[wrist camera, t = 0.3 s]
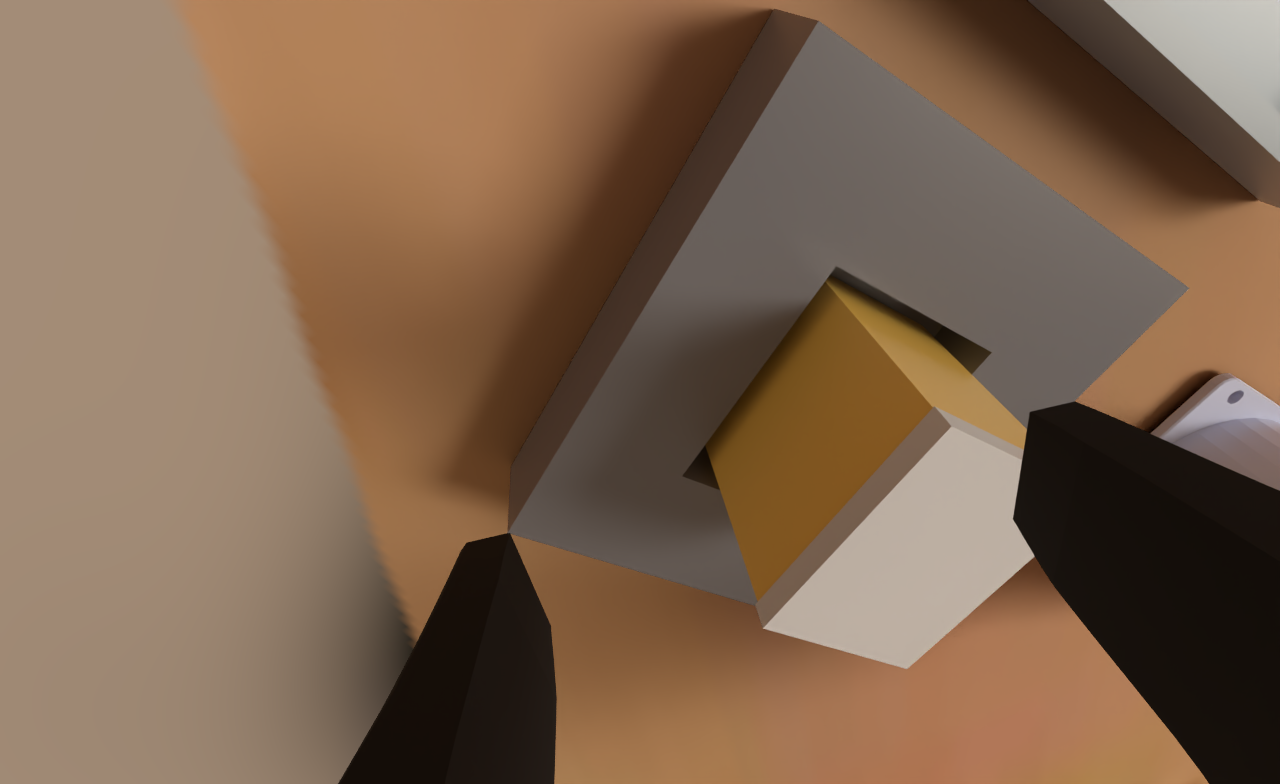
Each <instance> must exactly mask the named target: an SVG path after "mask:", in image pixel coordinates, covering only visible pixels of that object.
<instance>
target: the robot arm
mask: <svg viewBox="0 0 1280 784" xmlns="http://www.w3.org/2000/svg"><path fill="white" fill-rule="evenodd" d="M1013 520H1014V522H1015V524H1016V525H1017V527H1018V529H1019V531H1020V532H1021V534H1022V536H1023V537H1024V539H1025V541H1026V542H1027V544H1028V546H1029V547H1030V549H1031V551H1032V553H1033V554H1034V556H1035V557H1036V559H1037V561H1038V562H1039V564H1040V565H1041V567H1042V568H1043V570H1044V572H1045V573H1046V575H1047V576H1048V578H1049V579H1050V581H1051V583H1052V584H1053V585H1054V587H1055V588H1056V589H1057V591H1058V592H1059V593H1060V594H1061V596H1062V597H1063V598H1064V600H1065V601H1066V602H1067V603H1068V605H1069V606H1070V607H1071V608H1072V610H1073V611H1074V612H1075V614H1076V615H1077V616H1078V617H1079V619H1080V620H1081V621H1082V622H1083V624H1084V625H1085V626H1086V627H1087V629H1088V630H1089V631H1090V632H1091V634H1092V635H1093V636H1094V637H1095V639H1096V640H1097V641H1098V642H1099V644H1100V645H1101V646H1102V647H1103V649H1104V650H1105V651H1106V652H1107V654H1108V655H1109V656H1110V657H1111V658H1112V660H1113V661H1114V662H1115V663H1116V665H1117V666H1118V667H1119V668H1120V670H1121V671H1122V672H1123V673H1124V675H1125V676H1126V677H1127V678H1128V680H1129V681H1130V682H1131V683H1132V684H1133V686H1134V687H1135V688H1136V689H1137V691H1138V692H1139V693H1140V694H1141V696H1142V697H1143V698H1144V699H1145V701H1146V702H1147V703H1148V704H1149V706H1150V707H1151V708H1152V709H1153V710H1154V712H1155V713H1156V714H1157V715H1158V717H1159V718H1160V719H1161V720H1162V722H1163V723H1164V724H1165V725H1166V727H1167V728H1168V729H1169V730H1170V732H1171V733H1172V734H1173V735H1174V737H1175V738H1176V739H1177V741H1178V742H1179V743H1180V745H1181V746H1182V747H1183V749H1184V750H1185V751H1186V753H1187V754H1188V755H1189V757H1190V758H1191V759H1192V761H1193V762H1194V763H1195V765H1196V766H1197V767H1198V769H1199V770H1200V771H1201V773H1202V774H1203V775H1204V777H1205V778H1206V780H1207V781H1208V783H1209V784H1280V406H1279V405H1277V404H1276V403H1274V402H1273V401H1271V400H1270V399H1268V398H1267V397H1265V396H1264V395H1262V394H1261V393H1259V392H1258V391H1256V390H1255V389H1253V388H1252V387H1250V386H1249V385H1247V384H1246V383H1244V382H1243V381H1241V380H1240V379H1238V378H1237V377H1235V376H1233V375H1232V374H1229V373H1224V374H1219V375H1217V376H1215V377H1213V378H1212V379H1210V380H1209V381H1208V382H1207V383H1206V384H1205V385H1204V386H1202V387H1201V388H1200V389H1199V390H1198V391H1197V392H1196V393H1195V394H1194V395H1192V396H1191V397H1190V398H1189V399H1188V400H1187V401H1186V402H1185V403H1184V404H1182V405H1181V406H1180V407H1179V408H1178V409H1177V410H1176V411H1175V412H1174V413H1172V414H1171V415H1170V416H1169V417H1168V418H1167V419H1166V420H1165V421H1164V422H1162V423H1161V424H1160V425H1159V426H1158V427H1157V428H1156V429H1155V430H1154V431H1152V432H1151V433H1148V432H1146V431H1143V430H1141V429H1139V428H1136V427H1134V426H1132V425H1130V424H1127V423H1125V422H1123V421H1121V420H1118V419H1116V418H1114V417H1111V416H1109V415H1107V414H1104V413H1102V412H1100V411H1097V410H1095V409H1092V408H1090V407H1087V406H1085V405H1082V404H1080V403H1077V402H1070V403H1065V404H1061V405H1057V406H1053V407H1048V408H1044V409H1040V410H1035V411H1031V412H1030V413H1029V420H1028V426H1027V432H1026V439H1025V445H1024V451H1023V458H1022V464H1021V470H1020V477H1019V483H1018V489H1017V496H1016V502H1015V508H1014V515H1013ZM556 700H557V697H556V684H555V670H554V657H553V646H552V635H551V625H550V623H549V621H548V618H547V616H546V614H545V612H544V609H543V607H542V605H541V603H540V600H539V598H538V596H537V593H536V591H535V589H534V587H533V584H532V582H531V580H530V578H529V575H528V573H527V571H526V568H525V566H524V564H523V562H522V559H521V557H520V555H519V553H518V550H517V548H516V546H515V543H514V541H513V539H512V537H511V534H510V533H507V534H502V535H498V536H494V537H489V538H485V539H481V540H477V541H472V542H468V543H466V544H465V546H464V547H463V549H462V550H461V552H460V554H459V556H458V558H457V561H456V563H455V565H454V567H453V569H452V571H451V573H450V575H449V578H448V580H447V582H446V584H445V586H444V588H443V590H442V592H441V594H440V596H439V599H438V601H437V603H436V605H435V607H434V609H433V611H432V613H431V615H430V617H429V619H428V621H427V623H426V625H425V627H424V629H423V631H422V633H421V635H420V637H419V639H418V641H417V643H416V645H415V647H414V649H413V651H412V653H411V655H410V657H409V658H408V660H407V662H406V664H405V666H404V668H403V670H402V672H401V674H400V676H399V678H398V679H397V681H396V683H395V685H394V687H393V689H392V691H391V693H390V695H389V696H388V698H387V700H386V702H385V704H384V706H383V708H382V710H381V711H380V713H379V714H378V716H377V718H376V720H375V721H374V723H373V725H372V727H371V729H370V730H369V732H368V733H367V735H366V737H365V739H364V740H363V742H362V744H361V746H360V747H359V749H358V751H357V753H356V754H355V756H354V758H353V759H352V761H351V763H350V765H349V766H348V768H347V770H346V771H345V773H344V775H343V777H342V778H341V780H340V782H339V783H338V784H554V774H555V740H556Z"/></svg>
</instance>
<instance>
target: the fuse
mask: <svg viewBox="0 0 1280 784" xmlns="http://www.w3.org/2000/svg"><path fill="white" fill-rule="evenodd" d="M1026 432H1027V429H1026V428H1025V427H1024V426H1023V425H1022V424H1021V423H1020V422H1019V421H1018V420H1017V419H1016V418H1015V417H1014V416H1013V415H1012V414H1011V413H1010V412H1009V411H1008V410H1007V409H1006V408H1005V407H1004V406H1003V405H1002V404H1001V403H1000V402H999V401H998V400H997V399H996V398H995V397H994V396H993V395H992V394H991V393H990V392H989V391H988V390H987V389H986V388H985V387H984V386H983V385H982V384H981V383H980V382H979V381H978V380H977V379H976V378H975V377H974V376H973V375H972V374H971V373H970V372H969V371H968V370H967V369H966V368H965V367H964V366H963V365H962V364H961V363H960V362H959V361H958V360H957V359H956V358H955V357H953V356H952V355H951V354H950V353H949V352H948V351H947V350H946V349H945V348H944V347H943V346H942V345H941V344H940V343H939V342H938V341H937V340H936V339H935V338H934V337H933V336H932V335H931V334H930V333H929V332H928V331H927V330H926V329H925V328H924V327H923V326H922V325H921V324H919V323H917V322H915V321H913V320H911V319H910V318H908V317H906V316H904V315H902V314H900V313H899V312H897V311H895V310H893V309H891V308H889V307H888V306H886V305H884V304H882V303H880V302H878V301H877V300H875V299H873V298H871V297H869V296H867V295H866V294H864V293H862V292H860V291H858V290H856V289H855V288H853V287H851V286H849V285H847V284H845V283H844V282H842V281H840V280H838V279H836V278H834V277H833V276H831V275H829V277H828V278H827V279H826V281H825V282H824V284H823V285H822V286H821V288H820V289H819V290H818V292H817V293H816V294H815V296H814V297H813V299H812V300H811V301H810V303H809V304H808V305H807V307H806V308H805V309H804V311H803V312H802V314H801V315H800V316H799V318H798V319H797V320H796V322H795V323H794V324H793V326H792V327H791V329H790V330H789V331H788V333H787V334H786V335H785V337H784V338H783V339H782V341H781V342H780V344H779V345H778V346H777V348H776V349H775V350H774V352H773V353H772V354H771V356H770V357H769V359H768V360H767V361H766V363H765V364H764V365H763V367H762V368H761V369H760V371H759V372H758V374H757V375H756V376H755V378H754V379H753V380H752V382H751V383H750V384H749V386H748V387H747V389H746V390H745V391H744V393H743V394H742V395H741V397H740V398H739V399H738V401H737V402H736V404H735V405H734V406H733V408H732V409H731V410H730V412H729V413H728V414H727V416H726V417H725V419H724V420H723V421H722V423H721V424H720V425H719V427H718V428H717V429H716V431H715V432H714V434H713V435H712V436H711V438H710V439H709V440H708V442H707V443H706V444H705V446H706V449H707V452H708V455H709V458H710V461H711V464H712V467H713V470H714V473H715V476H716V479H717V482H718V485H719V488H720V491H721V494H722V497H723V500H724V503H725V506H726V509H727V512H728V515H729V518H730V521H731V524H732V527H733V530H734V533H735V536H736V539H737V542H738V545H739V548H740V551H741V554H742V557H743V560H744V563H745V566H746V569H747V572H748V575H749V578H750V581H751V584H752V587H753V589H754V592H755V595H756V598H757V601H758V602H757V603H756V604H755V606H756V609H757V612H758V615H759V618H760V621H761V624H762V627H763V629H767V630H770V631H774V632H777V633H781V634H784V635H788V636H791V637H795V638H799V639H802V640H806V641H809V642H813V643H816V644H820V645H823V646H827V647H831V648H834V649H838V650H841V651H845V652H848V653H852V654H855V655H859V656H863V657H866V658H870V659H873V660H877V661H880V662H884V663H887V664H891V665H895V666H898V667H902V668H905V669H908V668H909V667H910V666H911V665H912V664H913V663H914V662H916V661H917V660H918V659H919V658H920V657H921V656H922V655H924V654H925V653H926V652H927V651H928V650H929V649H930V648H931V647H933V646H934V645H935V644H936V643H937V642H938V641H939V640H941V639H942V638H943V637H944V636H945V635H946V634H947V633H948V632H950V631H951V630H952V629H953V628H954V627H955V626H956V625H958V624H959V623H960V622H961V621H962V620H963V619H964V618H965V617H967V616H968V615H969V614H970V613H971V612H972V611H973V610H974V609H976V608H977V607H978V606H979V605H980V604H981V603H982V602H984V601H985V600H986V599H987V598H988V597H989V596H990V595H991V594H993V593H994V592H995V591H996V590H997V589H998V588H999V587H1001V586H1002V585H1003V584H1004V583H1005V582H1006V581H1007V580H1008V579H1010V578H1011V577H1012V576H1013V575H1014V574H1015V573H1016V572H1017V571H1019V570H1020V569H1021V568H1022V567H1023V566H1024V565H1025V564H1027V563H1028V562H1029V561H1030V560H1031V559H1032V558H1033V557H1034V554H1033V553H1032V551H1031V549H1030V547H1029V546H1028V544H1027V542H1026V541H1025V539H1024V537H1023V536H1022V534H1021V532H1020V531H1019V529H1018V527H1017V525H1016V524H1015V522H1014V520H1013V515H1014V508H1015V502H1016V496H1017V489H1018V483H1019V477H1020V470H1021V464H1022V458H1023V451H1024V445H1025V439H1026Z"/></svg>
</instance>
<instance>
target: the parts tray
mask: <svg viewBox="0 0 1280 784" xmlns="http://www.w3.org/2000/svg"><path fill="white" fill-rule="evenodd" d="M1028 1H1029V2H1030V3H1031V4H1032V5H1033V6H1034V7H1036V8H1037V9H1038V10H1039V11H1040V12H1041V13H1043V14H1044V15H1045V16H1046V17H1047V18H1048V19H1050V20H1051V21H1052V22H1053V23H1054V24H1055V25H1057V26H1058V27H1059V28H1060V29H1061V30H1062V31H1063V32H1065V33H1066V34H1067V35H1068V36H1069V37H1070V38H1072V39H1073V40H1074V41H1075V42H1076V43H1077V44H1079V45H1080V46H1081V47H1082V48H1083V49H1084V50H1086V51H1087V52H1088V53H1089V54H1090V55H1091V56H1092V57H1094V58H1095V59H1096V60H1097V61H1098V62H1099V63H1101V64H1102V65H1103V66H1104V67H1105V68H1106V69H1108V70H1109V71H1110V72H1111V73H1112V74H1113V75H1115V76H1116V77H1117V78H1118V79H1119V80H1120V81H1122V82H1123V83H1124V84H1125V85H1126V86H1127V87H1128V88H1130V89H1131V90H1132V91H1133V92H1134V93H1135V94H1137V95H1138V96H1139V97H1140V98H1141V99H1142V100H1144V101H1145V102H1146V103H1147V104H1148V105H1149V106H1151V107H1152V108H1153V109H1154V110H1155V111H1156V112H1157V113H1159V114H1160V115H1161V116H1162V117H1163V118H1164V119H1166V120H1167V121H1168V122H1169V123H1170V124H1171V125H1173V126H1174V127H1175V128H1176V129H1177V130H1178V131H1180V132H1181V133H1182V134H1183V135H1184V136H1185V137H1186V138H1188V139H1189V140H1190V141H1191V142H1192V143H1193V144H1195V145H1196V146H1197V147H1198V148H1199V149H1200V150H1202V151H1203V152H1204V153H1205V154H1206V155H1207V156H1209V157H1210V158H1211V159H1212V160H1213V161H1214V162H1215V163H1217V164H1218V165H1219V166H1220V167H1221V168H1222V169H1224V170H1225V171H1226V172H1227V173H1228V174H1229V175H1231V176H1232V177H1233V178H1234V179H1235V180H1236V181H1238V182H1239V183H1240V184H1241V185H1242V186H1243V187H1245V188H1246V189H1247V190H1248V191H1249V192H1250V193H1251V194H1253V195H1254V196H1255V197H1256V198H1257V199H1258V200H1260V201H1261V202H1264V203H1267V204H1270V205H1273V206H1276V207H1278V208H1280V0H1028Z"/></svg>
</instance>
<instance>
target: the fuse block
mask: <svg viewBox="0 0 1280 784" xmlns="http://www.w3.org/2000/svg"><path fill="white" fill-rule="evenodd" d="M829 275H831V276H833V277H834V278H836V279H838V280H840V281H842V282H844V283H845V284H847V285H849V286H851V287H853V288H855V289H856V290H858V291H860V292H862V293H864V294H866V295H867V296H869V297H871V298H873V299H875V300H877V301H878V302H880V303H882V304H884V305H886V306H888V307H889V308H891V309H893V310H895V311H897V312H899V313H900V314H902V315H904V316H906V317H908V318H910V319H911V320H913V321H915V322H917V323H919V324H921V325H922V326H923V327H924V328H925V329H926V330H927V331H928V332H929V333H930V334H931V335H932V336H933V337H934V338H935V339H936V340H937V341H938V342H939V343H940V344H941V345H942V346H943V347H944V348H945V349H946V350H947V351H948V352H949V353H950V354H951V355H952V356H953V357H955V358H956V359H957V360H958V361H959V362H960V363H961V364H962V365H963V366H964V367H965V368H966V369H967V370H968V371H969V372H970V373H971V374H972V375H973V376H974V377H975V378H976V379H977V380H978V381H979V382H980V383H981V384H982V385H983V386H984V387H985V388H986V389H987V390H988V391H989V392H990V393H991V394H992V395H993V396H994V397H995V398H996V399H997V400H998V401H999V402H1000V403H1001V404H1002V405H1003V406H1004V407H1005V408H1006V409H1007V410H1008V411H1009V412H1010V413H1011V414H1012V415H1013V416H1014V417H1015V418H1016V419H1017V420H1018V421H1019V422H1020V423H1021V424H1022V425H1023V426H1024V427H1025V428H1026V429H1027V426H1028V420H1029V413H1030V412H1031V411H1035V410H1040V409H1044V408H1048V407H1053V406H1057V405H1061V404H1065V403H1070V402H1074V401H1075V400H1076V399H1077V398H1078V397H1079V396H1080V395H1081V394H1082V393H1083V392H1084V391H1085V390H1086V389H1087V388H1088V387H1089V386H1090V385H1091V384H1092V383H1093V382H1094V381H1095V380H1096V379H1097V378H1098V377H1099V376H1100V375H1101V374H1102V373H1103V372H1105V371H1106V370H1107V369H1108V368H1109V367H1110V366H1111V365H1112V364H1113V363H1114V362H1115V361H1116V360H1117V359H1118V358H1119V357H1120V356H1121V355H1122V354H1123V353H1124V352H1125V351H1126V350H1127V349H1128V348H1129V347H1130V346H1131V345H1132V344H1133V343H1134V342H1135V341H1136V340H1137V339H1138V338H1139V337H1140V336H1141V335H1142V334H1143V333H1144V332H1145V331H1146V330H1147V329H1148V328H1149V327H1150V326H1151V325H1152V324H1153V323H1154V322H1155V321H1156V320H1157V319H1158V318H1159V317H1160V316H1161V315H1162V314H1164V313H1165V312H1166V311H1167V310H1168V309H1169V308H1170V307H1171V306H1172V305H1173V304H1174V303H1175V302H1176V301H1177V300H1178V299H1179V298H1180V297H1181V296H1182V295H1183V294H1184V293H1185V292H1186V291H1187V290H1188V289H1189V288H1188V287H1187V286H1186V285H1184V284H1183V283H1182V282H1180V281H1179V280H1177V279H1176V278H1175V277H1173V276H1172V275H1170V274H1169V273H1168V272H1166V271H1165V270H1164V269H1162V268H1161V267H1159V266H1158V265H1157V264H1155V263H1154V262H1152V261H1151V260H1150V259H1148V258H1147V257H1145V256H1144V255H1143V254H1141V253H1140V252H1139V251H1137V250H1136V249H1134V248H1133V247H1132V246H1130V245H1129V244H1127V243H1126V242H1125V241H1123V240H1122V239H1120V238H1119V237H1118V236H1116V235H1115V234H1114V233H1112V232H1111V231H1109V230H1108V229H1107V228H1105V227H1104V226H1102V225H1101V224H1100V223H1098V222H1097V221H1096V220H1094V219H1093V218H1091V217H1090V216H1089V215H1087V214H1086V213H1084V212H1083V211H1082V210H1080V209H1079V208H1077V207H1076V206H1075V205H1073V204H1072V203H1071V202H1069V201H1068V200H1066V199H1065V198H1064V197H1062V196H1061V195H1059V194H1058V193H1057V192H1055V191H1054V190H1052V189H1051V188H1050V187H1048V186H1047V185H1046V184H1044V183H1043V182H1041V181H1040V180H1039V179H1037V178H1036V177H1034V176H1033V175H1032V174H1030V173H1029V172H1027V171H1026V170H1025V169H1023V168H1022V167H1021V166H1019V165H1018V164H1016V163H1015V162H1014V161H1012V160H1011V159H1009V158H1008V157H1007V156H1005V155H1004V154H1003V153H1001V152H1000V151H998V150H997V149H996V148H994V147H993V146H991V145H990V144H989V143H987V142H986V141H984V140H983V139H982V138H980V137H979V136H978V135H976V134H975V133H973V132H972V131H971V130H969V129H968V128H966V127H965V126H964V125H962V124H961V123H959V122H958V121H957V120H955V119H954V118H953V117H951V116H950V115H948V114H947V113H946V112H944V111H943V110H941V109H940V108H939V107H937V106H936V105H934V104H933V103H932V102H930V101H929V100H928V99H926V98H925V97H923V96H922V95H921V94H919V93H918V92H916V91H915V90H914V89H912V88H911V87H910V86H908V85H907V84H905V83H904V82H903V81H901V80H900V79H898V78H897V77H896V76H894V75H893V74H891V73H890V72H889V71H887V70H886V69H885V68H883V67H882V66H880V65H879V64H878V63H876V62H875V61H873V60H872V59H871V58H869V57H868V56H866V55H865V54H864V53H862V52H861V51H860V50H858V49H857V48H855V47H854V46H853V45H851V44H850V43H848V42H847V41H846V40H844V39H843V38H842V37H840V36H839V35H837V34H836V33H835V32H833V31H832V30H830V29H829V28H828V27H826V26H825V25H823V24H822V23H821V22H819V21H817V20H813V19H810V18H806V17H802V16H799V15H795V14H791V13H788V12H784V11H781V10H777V9H774V10H773V12H772V13H771V15H770V17H769V19H768V20H767V22H766V24H765V26H764V27H763V29H762V31H761V33H760V34H759V36H758V38H757V39H756V41H755V43H754V45H753V46H752V48H751V50H750V52H749V53H748V55H747V57H746V59H745V60H744V62H743V64H742V66H741V67H740V69H739V71H738V73H737V74H736V76H735V78H734V79H733V81H732V83H731V85H730V86H729V88H728V90H727V92H726V93H725V95H724V97H723V99H722V100H721V102H720V104H719V106H718V107H717V109H716V111H715V113H714V114H713V116H712V118H711V120H710V121H709V123H708V125H707V126H706V128H705V130H704V132H703V133H702V135H701V137H700V139H699V140H698V142H697V144H696V146H695V147H694V149H693V151H692V153H691V154H690V156H689V158H688V160H687V161H686V163H685V165H684V166H683V168H682V170H681V172H680V173H679V175H678V177H677V179H676V180H675V182H674V184H673V186H672V187H671V189H670V191H669V193H668V194H667V196H666V198H665V200H664V201H663V203H662V205H661V207H660V208H659V210H658V212H657V213H656V215H655V217H654V219H653V220H652V222H651V224H650V226H649V227H648V229H647V231H646V233H645V234H644V236H643V238H642V240H641V241H640V243H639V245H638V247H637V248H636V250H635V252H634V253H633V255H632V257H631V259H630V260H629V262H628V264H627V266H626V267H625V269H624V271H623V273H622V274H621V276H620V278H619V280H618V281H617V283H616V285H615V287H614V288H613V290H612V292H611V293H610V295H609V297H608V299H607V300H606V302H605V304H604V306H603V307H602V309H601V311H600V313H599V314H598V316H597V318H596V320H595V321H594V323H593V325H592V327H591V328H590V330H589V332H588V334H587V335H586V337H585V339H584V340H583V342H582V344H581V346H580V347H579V349H578V351H577V353H576V354H575V356H574V358H573V360H572V361H571V363H570V365H569V367H568V368H567V370H566V372H565V374H564V375H563V377H562V379H561V380H560V382H559V384H558V386H557V387H556V389H555V391H554V393H553V394H552V396H551V398H550V400H549V401H548V403H547V405H546V407H545V408H544V410H543V412H542V414H541V415H540V417H539V419H538V421H537V422H536V424H535V426H534V427H533V429H532V431H531V433H530V434H529V436H528V438H527V440H526V441H525V443H524V445H523V447H522V448H521V450H520V452H519V454H518V455H517V457H516V459H515V461H514V462H513V464H512V466H511V473H510V494H509V514H508V533H510V534H513V535H517V536H520V537H523V538H527V539H530V540H533V541H537V542H540V543H544V544H547V545H550V546H554V547H557V548H561V549H564V550H567V551H571V552H574V553H578V554H581V555H584V556H588V557H591V558H594V559H598V560H601V561H605V562H608V563H611V564H615V565H618V566H622V567H625V568H628V569H632V570H635V571H639V572H642V573H645V574H649V575H652V576H655V577H659V578H662V579H666V580H669V581H672V582H676V583H679V584H683V585H686V586H689V587H693V588H696V589H700V590H703V591H706V592H710V593H713V594H716V595H720V596H723V597H727V598H730V599H733V600H737V601H740V602H744V603H747V604H750V605H754V606H755V604H756V603H757V602H758V601H757V598H756V595H755V592H754V589H753V587H752V584H751V581H750V578H749V575H748V572H747V569H746V566H745V563H744V560H743V557H742V554H741V551H740V548H739V545H738V542H737V539H736V536H735V533H734V530H733V527H732V524H731V521H730V518H729V515H728V512H727V509H726V506H725V503H724V500H723V497H722V494H721V491H720V488H719V485H718V482H717V479H716V476H715V473H714V470H713V467H712V464H711V461H710V458H709V455H708V452H707V449H706V446H705V444H706V443H707V442H708V440H709V439H710V438H711V436H712V435H713V434H714V432H715V431H716V429H717V428H718V427H719V425H720V424H721V423H722V421H723V420H724V419H725V417H726V416H727V414H728V413H729V412H730V410H731V409H732V408H733V406H734V405H735V404H736V402H737V401H738V399H739V398H740V397H741V395H742V394H743V393H744V391H745V390H746V389H747V387H748V386H749V384H750V383H751V382H752V380H753V379H754V378H755V376H756V375H757V374H758V372H759V371H760V369H761V368H762V367H763V365H764V364H765V363H766V361H767V360H768V359H769V357H770V356H771V354H772V353H773V352H774V350H775V349H776V348H777V346H778V345H779V344H780V342H781V341H782V339H783V338H784V337H785V335H786V334H787V333H788V331H789V330H790V329H791V327H792V326H793V324H794V323H795V322H796V320H797V319H798V318H799V316H800V315H801V314H802V312H803V311H804V309H805V308H806V307H807V305H808V304H809V303H810V301H811V300H812V299H813V297H814V296H815V294H816V293H817V292H818V290H819V289H820V288H821V286H822V285H823V284H824V282H825V281H826V279H827V278H828V277H829Z"/></svg>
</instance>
